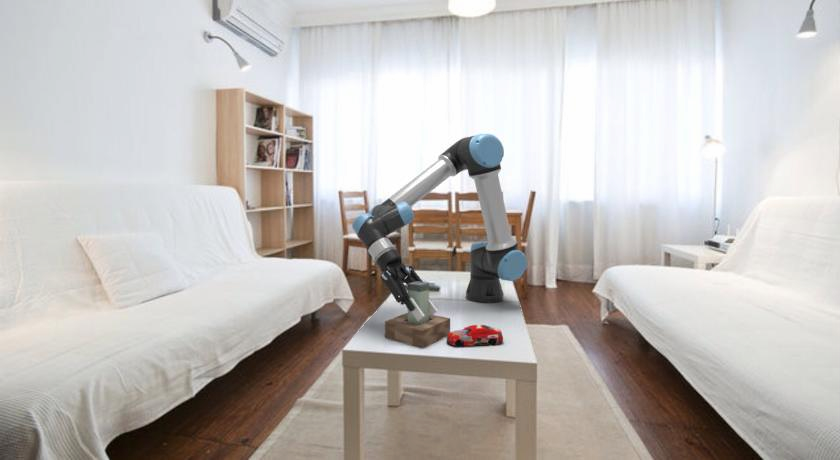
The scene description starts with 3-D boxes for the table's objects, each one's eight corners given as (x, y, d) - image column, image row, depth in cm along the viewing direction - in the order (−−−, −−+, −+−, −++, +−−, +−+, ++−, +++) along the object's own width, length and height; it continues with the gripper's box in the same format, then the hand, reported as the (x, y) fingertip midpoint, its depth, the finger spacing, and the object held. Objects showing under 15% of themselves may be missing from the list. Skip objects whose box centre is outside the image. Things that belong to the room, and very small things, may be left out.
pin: (416, 332, 130) (417, 281, 129) (428, 335, 127) (429, 283, 126) (407, 336, 126) (408, 283, 125) (419, 339, 124) (420, 285, 123)
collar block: (413, 325, 136) (413, 310, 136) (450, 334, 128) (450, 318, 128) (385, 337, 125) (384, 321, 125) (423, 348, 117) (423, 330, 117)
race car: (448, 349, 117) (448, 331, 117) (444, 340, 124) (444, 324, 123) (505, 346, 119) (505, 329, 119) (498, 338, 126) (498, 322, 125)
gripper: (398, 259, 141) (438, 315, 133) (358, 267, 126) (400, 331, 118) (410, 244, 138) (452, 301, 130) (371, 251, 123) (415, 316, 115)
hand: (427, 315), depth 124 cm, fingers open, 6 cm apart
